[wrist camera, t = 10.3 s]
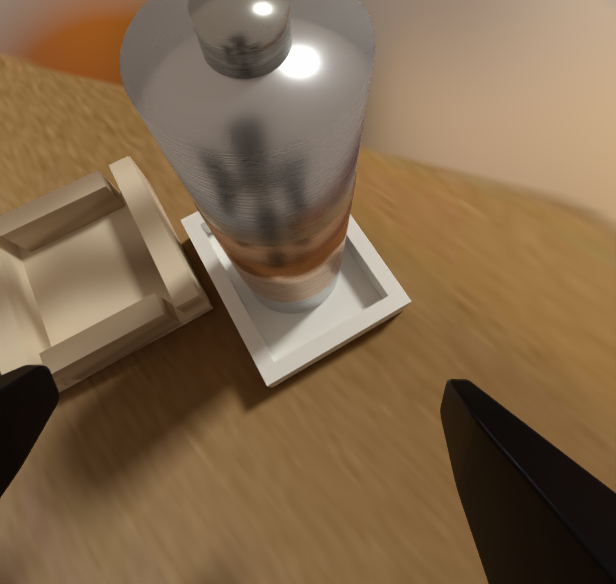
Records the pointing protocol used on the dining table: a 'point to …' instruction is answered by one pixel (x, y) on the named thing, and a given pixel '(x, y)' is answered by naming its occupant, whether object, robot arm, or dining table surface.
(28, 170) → the dining table surface
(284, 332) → the tray
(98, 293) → the tray
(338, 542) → the dining table surface
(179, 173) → the battery cell
